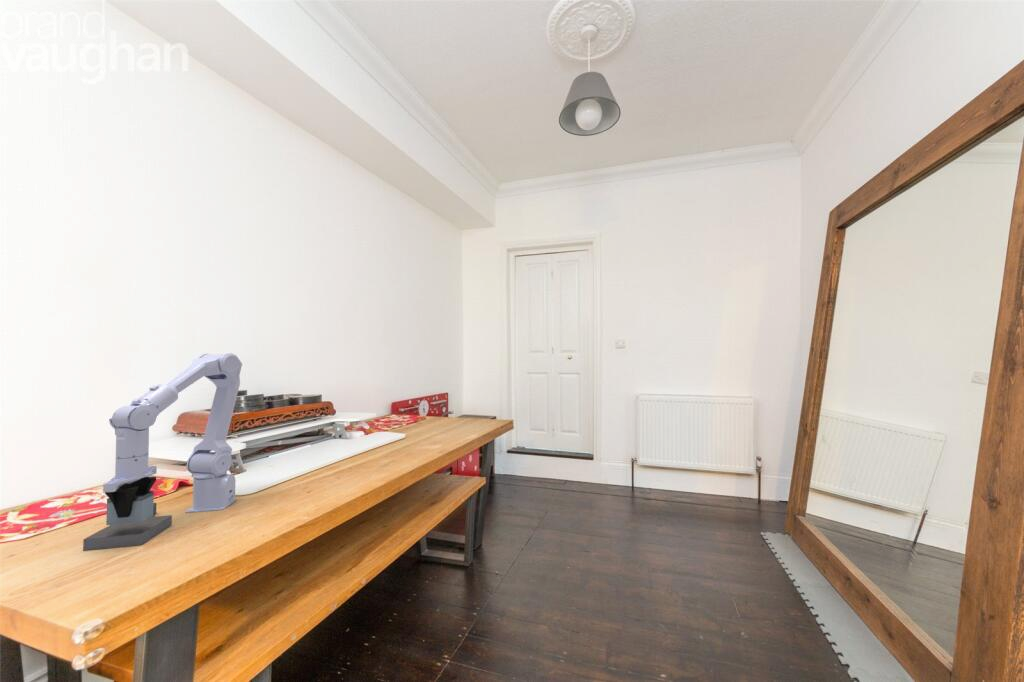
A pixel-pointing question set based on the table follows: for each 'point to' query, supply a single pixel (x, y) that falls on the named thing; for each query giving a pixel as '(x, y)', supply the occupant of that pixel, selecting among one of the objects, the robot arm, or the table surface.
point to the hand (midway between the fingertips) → (131, 513)
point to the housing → (133, 509)
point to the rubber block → (154, 509)
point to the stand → (127, 533)
